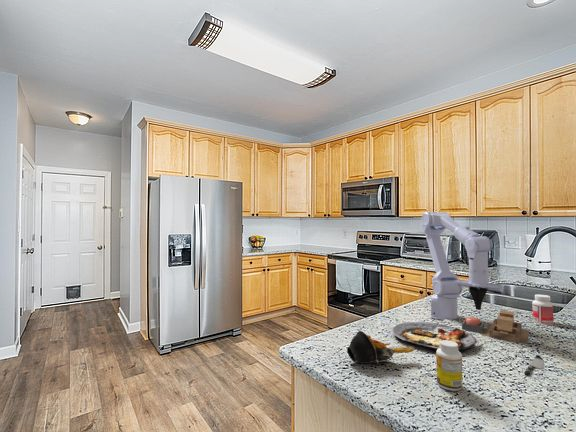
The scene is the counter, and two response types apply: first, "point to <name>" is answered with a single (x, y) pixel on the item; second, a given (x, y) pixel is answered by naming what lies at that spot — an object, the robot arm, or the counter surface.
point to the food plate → (432, 334)
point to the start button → (473, 321)
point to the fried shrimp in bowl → (372, 350)
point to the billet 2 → (505, 324)
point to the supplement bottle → (449, 366)
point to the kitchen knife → (535, 365)
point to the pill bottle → (542, 310)
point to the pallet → (517, 336)
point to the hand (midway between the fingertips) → (478, 309)
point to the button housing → (473, 327)
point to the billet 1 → (507, 314)
